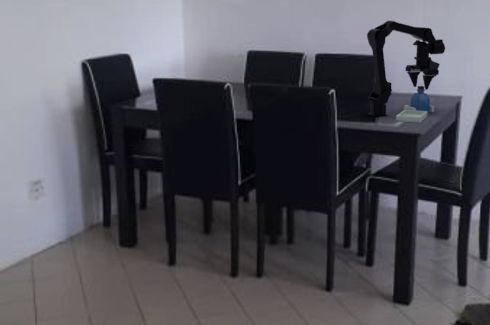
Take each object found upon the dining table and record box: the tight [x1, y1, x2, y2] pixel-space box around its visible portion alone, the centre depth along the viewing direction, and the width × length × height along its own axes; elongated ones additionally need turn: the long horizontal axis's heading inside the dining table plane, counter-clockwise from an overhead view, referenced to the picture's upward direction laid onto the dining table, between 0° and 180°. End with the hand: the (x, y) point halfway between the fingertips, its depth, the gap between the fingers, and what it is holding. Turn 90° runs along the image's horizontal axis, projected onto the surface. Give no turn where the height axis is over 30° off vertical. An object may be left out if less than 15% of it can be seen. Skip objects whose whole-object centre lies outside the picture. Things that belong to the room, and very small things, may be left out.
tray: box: [395, 110, 429, 124], centre depth 294 cm, size 16×11×2 cm, turn 154°
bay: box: [402, 104, 435, 113], centre depth 311 cm, size 11×9×2 cm
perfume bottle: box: [410, 85, 431, 113], centre depth 309 cm, size 6×6×12 cm
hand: (420, 88), depth 308 cm, fingers open, 9 cm apart
